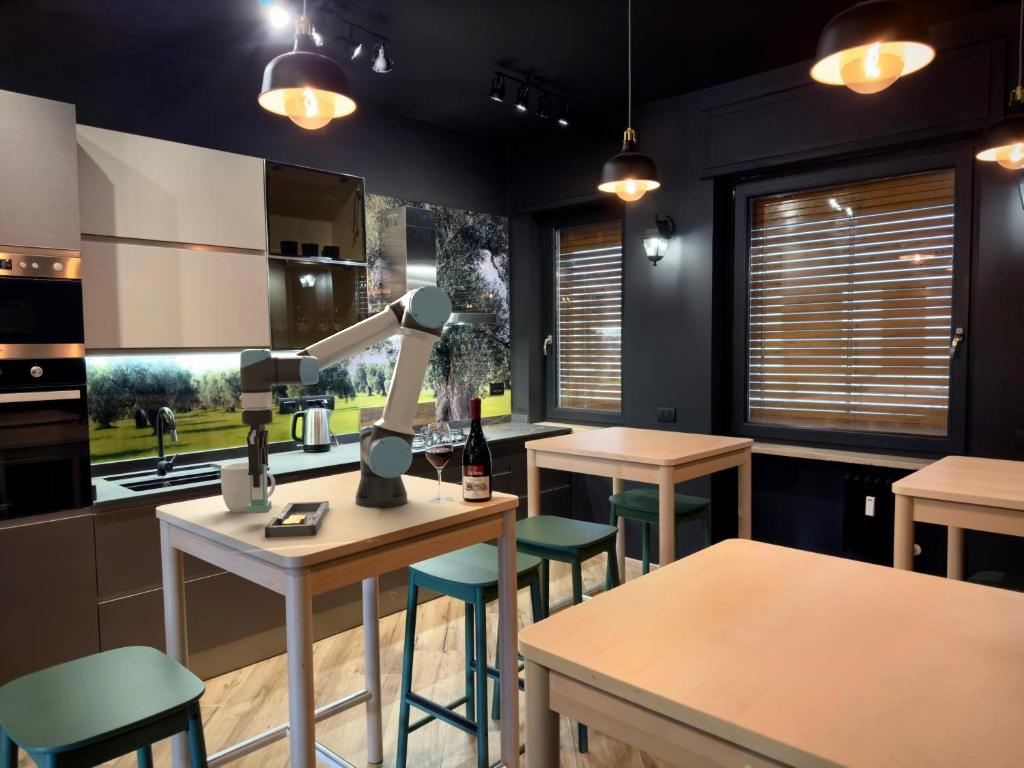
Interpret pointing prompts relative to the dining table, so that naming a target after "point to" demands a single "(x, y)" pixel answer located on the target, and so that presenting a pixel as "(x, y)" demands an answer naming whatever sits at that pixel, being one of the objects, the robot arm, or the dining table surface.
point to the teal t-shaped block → (264, 504)
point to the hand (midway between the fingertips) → (259, 497)
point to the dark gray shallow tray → (304, 510)
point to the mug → (238, 486)
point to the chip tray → (292, 528)
